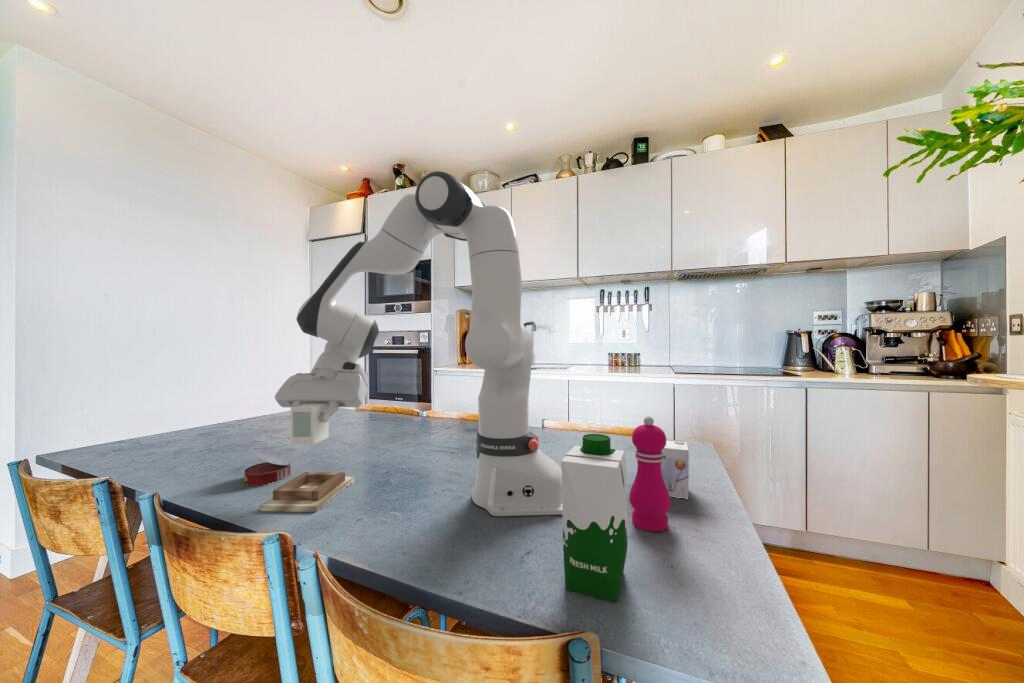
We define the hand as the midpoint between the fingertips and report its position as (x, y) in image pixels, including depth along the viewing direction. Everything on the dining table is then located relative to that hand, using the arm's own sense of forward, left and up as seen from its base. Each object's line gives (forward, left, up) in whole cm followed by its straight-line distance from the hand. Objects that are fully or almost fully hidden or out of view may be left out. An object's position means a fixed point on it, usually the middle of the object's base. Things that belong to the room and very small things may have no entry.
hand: (308, 420), depth 83 cm
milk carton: (-61, +20, -17) cm, 67 cm away
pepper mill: (-72, +2, -17) cm, 74 cm away
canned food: (+19, -9, -17) cm, 27 cm away
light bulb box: (-78, -14, -17) cm, 81 cm away
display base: (0, -1, -17) cm, 17 cm away
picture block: (0, -1, -5) cm, 5 cm away
